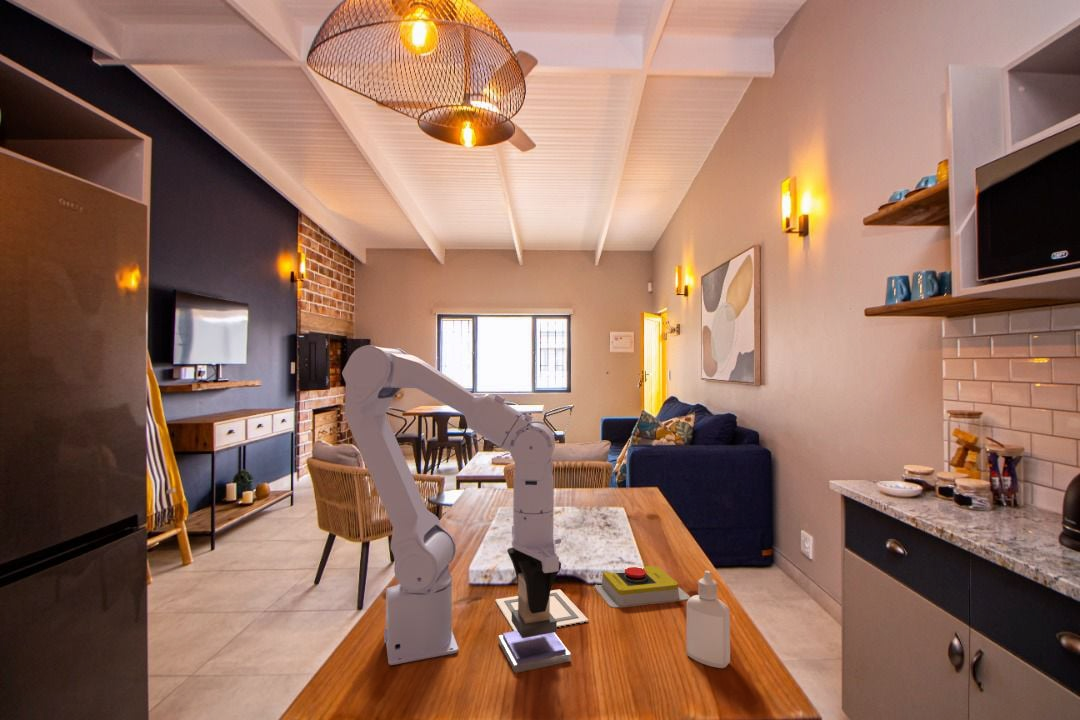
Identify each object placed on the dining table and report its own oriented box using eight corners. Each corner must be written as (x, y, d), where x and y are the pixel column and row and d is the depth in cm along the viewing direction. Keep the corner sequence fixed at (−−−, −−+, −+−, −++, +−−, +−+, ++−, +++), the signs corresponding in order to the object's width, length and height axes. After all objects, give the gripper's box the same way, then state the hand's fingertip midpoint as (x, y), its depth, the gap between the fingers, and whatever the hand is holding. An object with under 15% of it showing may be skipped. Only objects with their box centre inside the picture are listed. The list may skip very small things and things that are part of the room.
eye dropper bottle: (709, 674, 67) (708, 582, 67) (682, 652, 72) (681, 566, 72) (735, 666, 69) (734, 577, 69) (706, 645, 74) (706, 562, 74)
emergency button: (592, 564, 95) (667, 557, 98) (592, 588, 94) (667, 580, 98) (611, 585, 86) (692, 576, 89) (611, 611, 85) (692, 602, 89)
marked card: (516, 635, 77) (516, 632, 77) (495, 601, 88) (495, 598, 88) (588, 621, 81) (588, 619, 81) (559, 590, 92) (559, 588, 92)
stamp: (522, 638, 69) (522, 586, 69) (511, 621, 74) (511, 572, 74) (556, 632, 71) (556, 581, 71) (543, 615, 76) (544, 568, 76)
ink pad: (514, 673, 67) (514, 661, 67) (498, 642, 75) (498, 632, 75) (570, 661, 70) (570, 650, 70) (549, 632, 78) (549, 622, 78)
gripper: (580, 520, 67) (580, 624, 67) (542, 494, 81) (541, 580, 81) (529, 525, 65) (529, 633, 65) (499, 498, 78) (498, 587, 78)
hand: (533, 604), depth 72 cm, fingers closed on stamp, 3 cm apart
